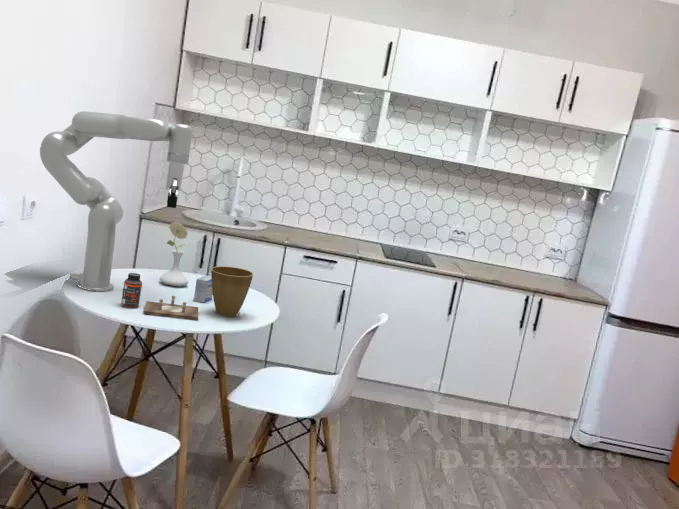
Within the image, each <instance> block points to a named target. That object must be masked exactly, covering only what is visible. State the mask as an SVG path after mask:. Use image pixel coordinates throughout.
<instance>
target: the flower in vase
mask: <svg viewBox="0 0 679 509" xmlns="http://www.w3.org/2000/svg"><path fill="white" fill-rule="evenodd" d="M168 228H169V230H170V232H171V234H172V236H174V238H173V241H172V240H170V239H169V240H168V241H167V242H166V244H167V245H168V246H169V245H170V246H171V247H173V246H174V247H175V249H172V250H171V252H172V254H173V265H172V268H170V270H169V271H166V272H164V273H163V274H162V275H161V276H160V277H159V281H160V282H161V283H162V284H165V285H169V286H175V287H181V286H182V287H183V286H186V285H188V284H189V279H188V277H187V276H185V275H184V274H183V272H181V270H180V262H181V258H182V256H183V255H184V254H185V251H184V250H180V249H178V248H181V247H184V244H180V245H178V246H176V238H177V239H179V240H184V239H187V236H188V231H187V228H186V227H185V226H184V225H183V224H182V223H179V222H178V221H177V222H176V221H174V222H171V223H170V225H169V227H168Z"/></svg>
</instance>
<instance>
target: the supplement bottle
mask: <svg viewBox="0 0 679 509" xmlns="http://www.w3.org/2000/svg"><path fill="white" fill-rule="evenodd" d="M142 287H143V282H142V281H141V274H139V273H136V272H129V273H128V275H127V278H126V279H125V280H124V281H123V289H122V294H121V304H120V305H121V306H122V307H124V308H126V309H127V308H128V309H137V308H138V307H139V306H140V301H141V296H142V295H141V293H142Z"/></svg>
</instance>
